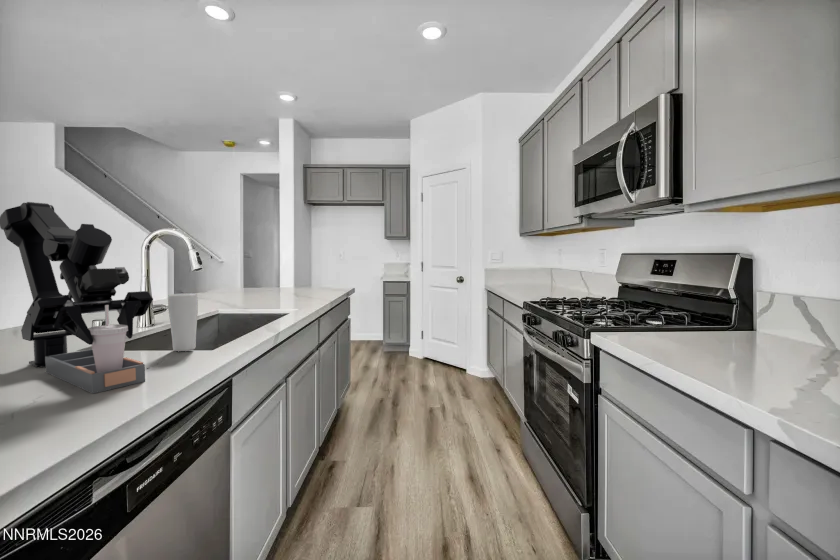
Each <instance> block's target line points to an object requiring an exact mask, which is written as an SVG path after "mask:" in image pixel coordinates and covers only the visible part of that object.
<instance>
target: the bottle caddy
mask: <svg viewBox="0 0 840 560" xmlns="http://www.w3.org/2000/svg"><path fill="white" fill-rule="evenodd" d="M45 364H46V366H45V373H46V374H48V375H51V376H53V377H55V378H57V379H59V380H61V381H64V382H66V383H68V384H71V385H73V386H74V387H78V388H80V389H82V390H84V391H86V392H88V393H90V394H97V393H101V392H105V391H110V390H114V389H119V388H122V387H123V388H124V387H127V386H131V385H136V384H139V383H145V382H146V368H145V367H146V365H145V363H144V362H143V361H139V360H137V359H133V358H130V357H128V356H127V357H123V365H122V368H120V369H115V370H110V371H105V372H100V373H97V370H96V365H95V360H94V355H93V350H92V348H91V349H84V350H79V351H73V352H72V351H71V352H67V353H64V354H58V355H51V356H45Z"/></svg>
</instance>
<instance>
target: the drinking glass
mask: <svg viewBox="0 0 840 560" xmlns="http://www.w3.org/2000/svg"><path fill="white" fill-rule="evenodd" d="M167 299H168V301H167V302H168V303H167V304H168V305H167V308H168V310H167V311H168V316H169V323H170V324H169V326H170V332H171V341H172V350H173V352H176V351H178V352H179V351H185V352H190V351H193V350H195V349H196V346H197V343H196V342H197V326H198V310H199V303H198V294H197V293H190V292H189V293H187V292H186V293H172V294H169V295H168V296H167ZM179 353H180V352H179Z"/></svg>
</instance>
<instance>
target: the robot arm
mask: <svg viewBox="0 0 840 560" xmlns="http://www.w3.org/2000/svg"><path fill="white" fill-rule="evenodd" d="M0 229H1V230H3V232H4V235H5V237H6V240H8V241H9V242H10V243H12V244H13V245H14V246H16V247H18V249H19V250H18V251H19V253H20V256H21V260H22V263H23V267H24V268H23V269H24V271H25V274H26V278H27V283H28V286H29V289H30V293H31V296H32V300H33V301H32V302H31V303H30V304H31V305H30V306H29V308H27V309H28V310H27V311H26V316H25V318H24V321H23V323H22V326H21V329H20V332H21V337H22V338H21V339H22V340H25V341H29V342H33V356H34V357H33V359H34V360H30V361H28V364H29V365H30V366H33V367H34V368H44V367H46V364H45V356H51V355H58V354H64V353H68V338H67V336H74V337H77V338H78V339H80V340H81V341H82V342H84V343H85V344H86V345H87V344H88V345H89V346H92V345H91V344H92V343H93V338H92V335H91V333H90V331H89V329H88V326H87V323H86V322H85V320H84V318H83V316H82V315H83V314H93V313H103V312H104V313H105V305H108V306H109V312H115V311H116V312H117V313H118V317H117V318H116V321H117V323H118V324H121V325H127V326H128V331H127V332H126V338H128V339H132V338H133V335H134V333H133V331H134V318H135V317H142V316H144V315H145V314H146V313H147V311H148V310H149V308H150V306H151V304H152V302H153V301H154V298H153V296H152V294H151V292H149V291H147V290H144V291H128V292H126V295H125V297H124V299H116V300H115V299H114V300H113V298H112V297H115V296H116V293H117V291H116V288H117V287H118V286H120V285H125V284H126V283H128V282H129V280H130V275H129V273H128V270H127V269H126V267H125V266H119V267H114V268H97V266H98V265H100V264H103V262H104V259H105V257H106V255H107V253H108V250H109V248H110V246H111V245H112V244H111V243H112V241H113V239H112V236H111V235H110V234H109V233H107V232H106V231H105V230H102V229H100V228H97V227H95V225H94V224H91V223H81V224H80V227H79V228H78V229H77V230H75V229H71V228H70V227H69V226H68V225H67V224H66V222H64V220H63V219H62V218H61V217H60V216H59V214H57V213H56V211H55V207H54V206H53V205H52V204H49V203H46V202H45V203H44V202H33V201H26V202H23V203H21V204H20V205H17V206H15V207H14V206H13V207H9V208H7V209H5V210H4V211H3V212H2V213H1V214H0ZM51 262H61V263H60V264H59V271H60V275H59V278H60V280H64V282H65V283H66V286H67V288H68V290H69V291H68V293H67V294H62V293H60V290H59V287H58V284H57V281H56V277H55V273H54V270H53V267H52V264H51Z"/></svg>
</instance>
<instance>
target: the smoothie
mask: <svg viewBox="0 0 840 560" xmlns="http://www.w3.org/2000/svg"><path fill="white" fill-rule="evenodd" d="M104 315H105V317H104V318H105V324H104V325H103V324H102V325H95V326H90V327H89V328H88V329H89V331H90V333H91V335H92V338H93V343H92V344H91V345H90V346H91V349H92V350H93V355H94V360H95V365H96V370H97V373H100V372H105V371H110V370H115V369H120V368H122V365H123V358H124V356H125V346H126V339H127V336H126V332H127V331H128V326H127V325H121V324H119V323H118V324H116V323H115V324H110V311H109V306H108V305H105V312H104Z"/></svg>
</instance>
